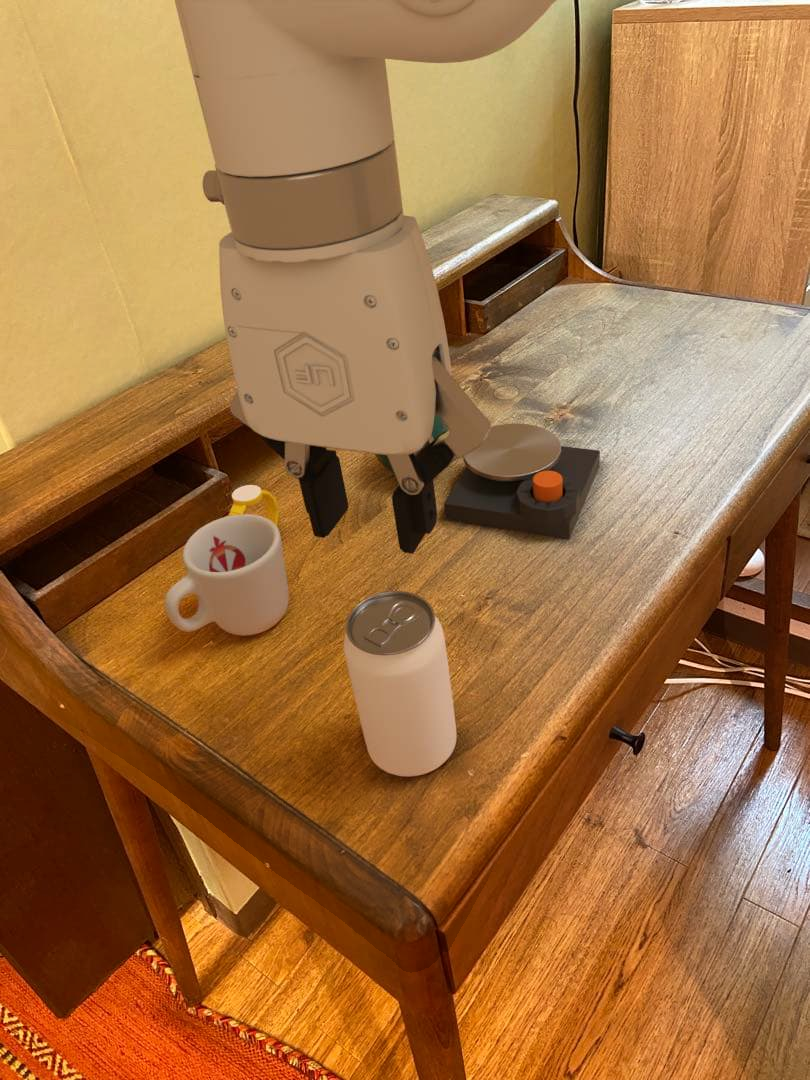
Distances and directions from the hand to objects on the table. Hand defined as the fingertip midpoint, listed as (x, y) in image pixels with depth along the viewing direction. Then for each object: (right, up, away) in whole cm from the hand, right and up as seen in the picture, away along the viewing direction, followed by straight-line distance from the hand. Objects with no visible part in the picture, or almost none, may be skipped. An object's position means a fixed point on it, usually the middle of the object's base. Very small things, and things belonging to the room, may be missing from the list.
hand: (373, 527), depth 46 cm
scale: (+13, +4, +34) cm, 37 cm away
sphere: (+3, +6, +39) cm, 40 cm away
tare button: (+15, +3, +28) cm, 32 cm away
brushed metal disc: (+12, +8, +33) cm, 36 cm away
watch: (-12, -1, +32) cm, 35 cm away
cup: (-12, -8, +24) cm, 28 cm away
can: (+2, -15, +12) cm, 20 cm away
